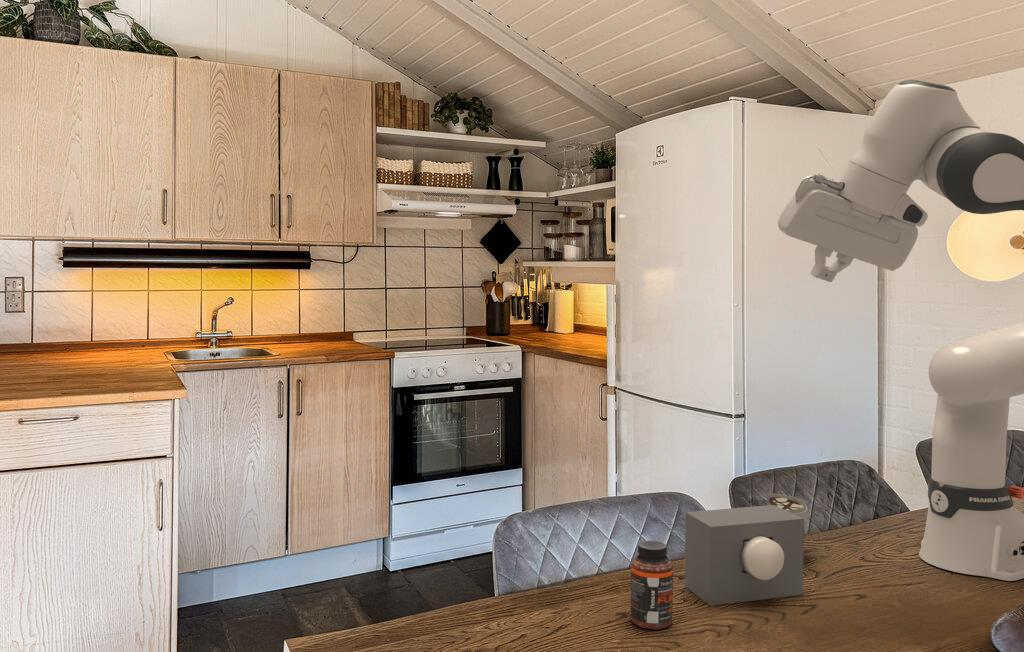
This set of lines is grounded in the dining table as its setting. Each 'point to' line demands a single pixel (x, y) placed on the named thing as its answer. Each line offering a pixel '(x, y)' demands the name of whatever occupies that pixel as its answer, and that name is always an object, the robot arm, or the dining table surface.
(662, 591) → the supplement bottle
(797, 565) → the knob mount
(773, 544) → the push knob
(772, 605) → the dining table surface
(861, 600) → the dining table surface
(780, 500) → the food container
